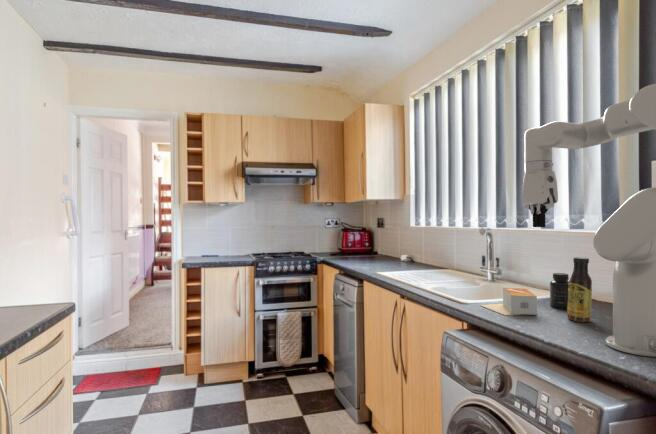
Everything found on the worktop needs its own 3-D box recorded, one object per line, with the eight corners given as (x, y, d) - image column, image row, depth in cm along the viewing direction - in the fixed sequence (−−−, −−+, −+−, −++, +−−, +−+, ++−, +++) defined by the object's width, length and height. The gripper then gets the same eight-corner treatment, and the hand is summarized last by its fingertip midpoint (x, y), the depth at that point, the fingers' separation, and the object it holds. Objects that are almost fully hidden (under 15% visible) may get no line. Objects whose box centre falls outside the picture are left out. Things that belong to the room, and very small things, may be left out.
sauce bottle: (562, 318, 123) (562, 256, 123) (576, 316, 125) (576, 255, 125) (582, 324, 117) (582, 259, 117) (596, 322, 119) (596, 258, 119)
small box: (510, 294, 128) (502, 287, 141) (510, 314, 128) (502, 305, 141) (537, 295, 126) (526, 288, 139) (537, 315, 126) (526, 306, 139)
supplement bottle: (550, 303, 143) (550, 271, 143) (572, 306, 139) (572, 273, 139) (548, 307, 137) (548, 274, 137) (571, 310, 133) (571, 275, 133)
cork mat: (536, 313, 129) (536, 312, 129) (505, 315, 127) (505, 314, 127) (509, 304, 143) (509, 303, 143) (480, 305, 141) (480, 305, 141)
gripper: (568, 165, 113) (569, 227, 113) (531, 171, 128) (531, 226, 128) (546, 164, 112) (547, 227, 111) (511, 170, 126) (512, 226, 126)
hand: (539, 226), depth 120 cm, fingers closed
